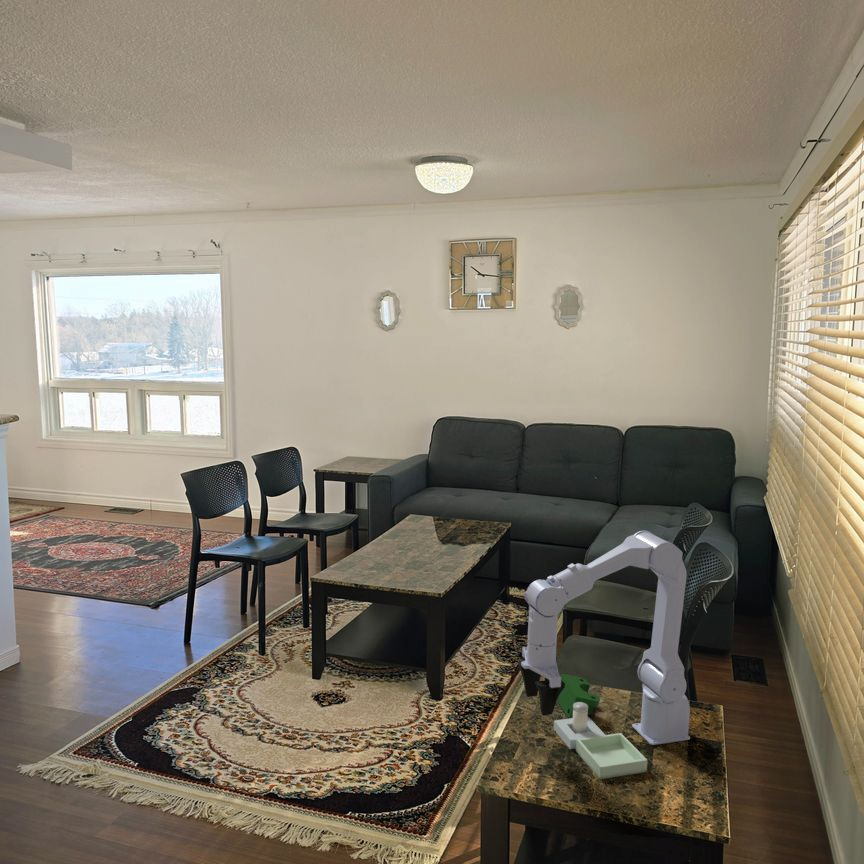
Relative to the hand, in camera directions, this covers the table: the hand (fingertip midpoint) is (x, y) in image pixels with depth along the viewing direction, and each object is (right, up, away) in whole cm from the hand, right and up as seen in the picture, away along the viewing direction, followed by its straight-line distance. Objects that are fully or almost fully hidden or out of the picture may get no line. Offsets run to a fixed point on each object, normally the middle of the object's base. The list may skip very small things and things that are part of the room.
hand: (539, 704), depth 156 cm
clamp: (+11, -8, +19) cm, 24 cm away
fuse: (+9, -9, +7) cm, 15 cm away
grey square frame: (+9, -9, +7) cm, 15 cm away
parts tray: (+14, -11, -1) cm, 18 cm away
